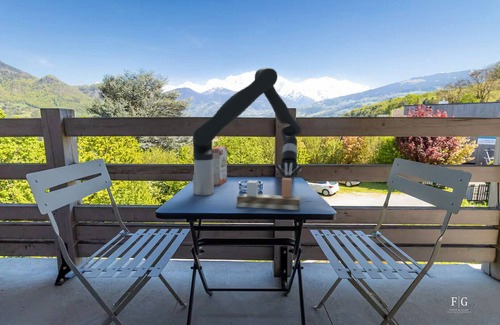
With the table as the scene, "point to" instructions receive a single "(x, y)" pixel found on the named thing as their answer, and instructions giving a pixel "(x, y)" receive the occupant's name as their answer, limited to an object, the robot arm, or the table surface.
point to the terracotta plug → (286, 187)
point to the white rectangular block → (252, 188)
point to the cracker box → (219, 165)
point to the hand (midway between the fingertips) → (287, 183)
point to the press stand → (269, 202)
